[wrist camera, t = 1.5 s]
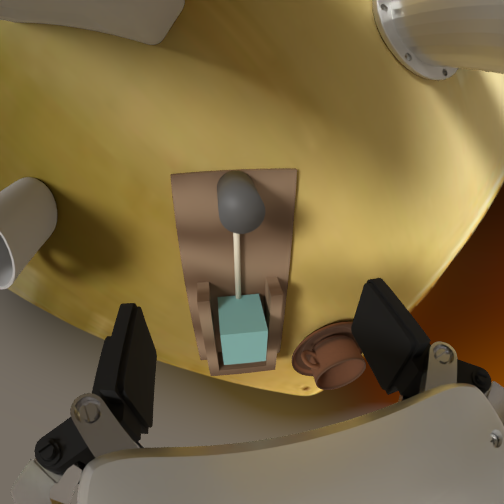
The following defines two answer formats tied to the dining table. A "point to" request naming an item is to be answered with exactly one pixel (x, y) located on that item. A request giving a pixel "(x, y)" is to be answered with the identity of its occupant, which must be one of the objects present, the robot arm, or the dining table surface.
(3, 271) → the cup
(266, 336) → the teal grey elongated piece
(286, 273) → the lane
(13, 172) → the dining table surface
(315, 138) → the dining table surface
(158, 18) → the tall white carton
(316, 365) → the cup and saucer
